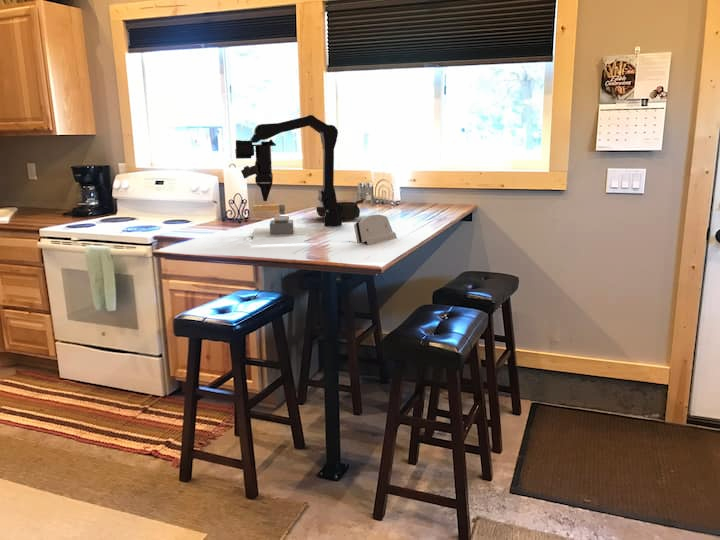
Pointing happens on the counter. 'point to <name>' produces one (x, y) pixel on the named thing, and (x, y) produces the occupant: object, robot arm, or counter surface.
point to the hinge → (373, 229)
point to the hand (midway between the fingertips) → (265, 199)
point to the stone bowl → (344, 209)
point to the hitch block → (283, 229)
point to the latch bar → (268, 207)
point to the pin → (281, 218)
